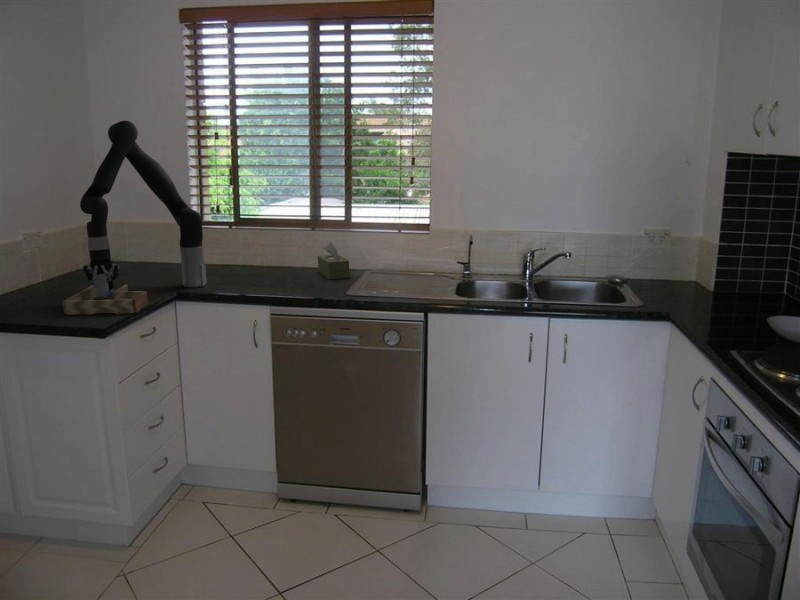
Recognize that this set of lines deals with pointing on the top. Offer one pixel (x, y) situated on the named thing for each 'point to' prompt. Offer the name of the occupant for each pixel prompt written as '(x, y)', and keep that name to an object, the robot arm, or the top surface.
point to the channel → (105, 302)
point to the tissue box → (333, 264)
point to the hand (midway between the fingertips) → (104, 289)
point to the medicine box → (101, 285)
